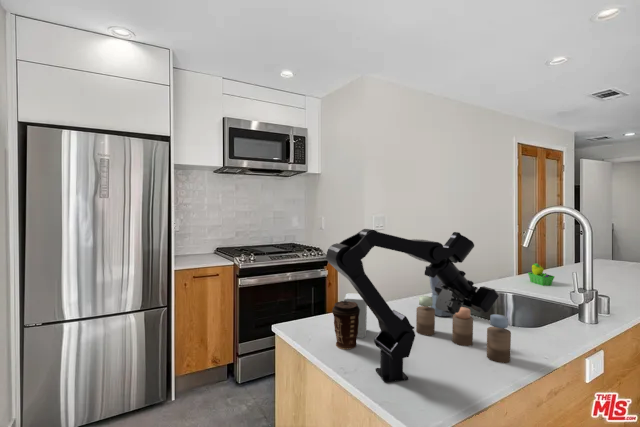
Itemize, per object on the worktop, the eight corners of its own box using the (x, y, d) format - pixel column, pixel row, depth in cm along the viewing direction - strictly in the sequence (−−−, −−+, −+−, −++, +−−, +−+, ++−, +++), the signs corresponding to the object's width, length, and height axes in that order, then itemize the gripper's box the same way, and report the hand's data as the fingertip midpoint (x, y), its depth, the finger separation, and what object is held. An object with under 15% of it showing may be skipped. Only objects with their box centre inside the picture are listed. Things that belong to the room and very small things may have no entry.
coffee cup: (343, 337, 112) (343, 298, 111) (365, 344, 106) (365, 303, 106) (327, 346, 105) (327, 304, 104) (349, 354, 100) (349, 310, 99)
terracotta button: (473, 318, 106) (473, 310, 106) (461, 319, 105) (461, 311, 105) (464, 313, 110) (464, 306, 110) (452, 314, 109) (452, 307, 109)
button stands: (517, 356, 98) (518, 329, 98) (504, 365, 93) (505, 336, 93) (427, 326, 122) (427, 304, 122) (412, 331, 117) (412, 308, 117)
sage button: (435, 306, 114) (435, 299, 114) (423, 307, 113) (423, 299, 113) (428, 302, 119) (428, 295, 119) (416, 303, 118) (416, 296, 118)
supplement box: (365, 338, 111) (365, 299, 111) (343, 336, 113) (343, 298, 112) (367, 329, 118) (367, 293, 118) (346, 328, 120) (346, 292, 120)
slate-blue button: (511, 327, 95) (511, 319, 95) (497, 328, 94) (498, 320, 94) (499, 322, 99) (500, 314, 99) (486, 323, 98) (487, 315, 98)
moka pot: (438, 307, 144) (439, 260, 143) (466, 318, 130) (467, 266, 129) (420, 309, 140) (420, 261, 140) (446, 322, 126) (447, 268, 125)
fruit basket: (555, 285, 181) (556, 264, 180) (540, 286, 180) (541, 265, 179) (538, 280, 192) (539, 261, 192) (524, 281, 191) (525, 261, 190)
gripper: (411, 289, 100) (441, 321, 104) (457, 308, 82) (491, 346, 86) (433, 261, 102) (461, 294, 106) (482, 273, 85) (514, 312, 89)
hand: (479, 310), depth 97 cm, fingers closed
